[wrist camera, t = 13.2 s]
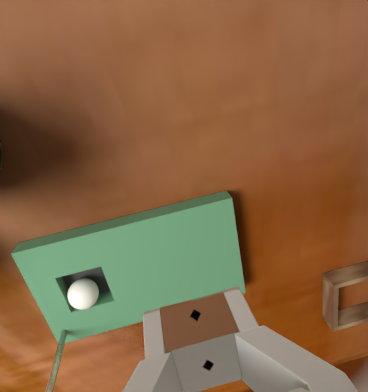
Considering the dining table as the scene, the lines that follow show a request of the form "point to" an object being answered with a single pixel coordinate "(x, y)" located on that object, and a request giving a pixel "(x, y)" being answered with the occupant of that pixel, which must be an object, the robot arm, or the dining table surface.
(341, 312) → the wooden rectangular frame
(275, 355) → the robot arm
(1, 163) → the apothecary jar
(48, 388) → the flag pin
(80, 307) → the ball
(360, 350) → the dining table surface
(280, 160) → the dining table surface
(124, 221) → the putting strip
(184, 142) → the dining table surface
